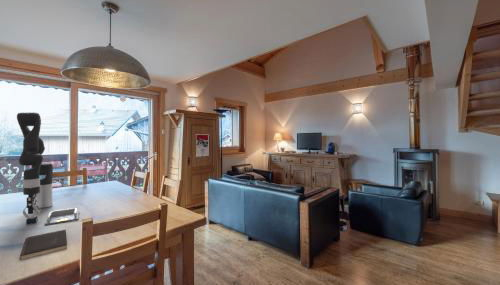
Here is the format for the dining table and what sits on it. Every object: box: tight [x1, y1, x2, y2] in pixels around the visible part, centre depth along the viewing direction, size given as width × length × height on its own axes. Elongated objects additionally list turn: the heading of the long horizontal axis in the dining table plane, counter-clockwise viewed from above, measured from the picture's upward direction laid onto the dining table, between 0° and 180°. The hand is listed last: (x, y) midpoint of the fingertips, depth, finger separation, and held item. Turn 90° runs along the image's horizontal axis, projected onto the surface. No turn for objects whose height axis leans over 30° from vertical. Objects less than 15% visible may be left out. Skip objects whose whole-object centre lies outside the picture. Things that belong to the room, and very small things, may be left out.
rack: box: [44, 207, 80, 226], centre depth 146 cm, size 18×16×4 cm
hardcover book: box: [19, 229, 68, 261], centre depth 111 cm, size 16×23×2 cm
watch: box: [22, 204, 42, 226], centre depth 139 cm, size 6×8×11 cm
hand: (32, 211), depth 139 cm, fingers open, 8 cm apart
